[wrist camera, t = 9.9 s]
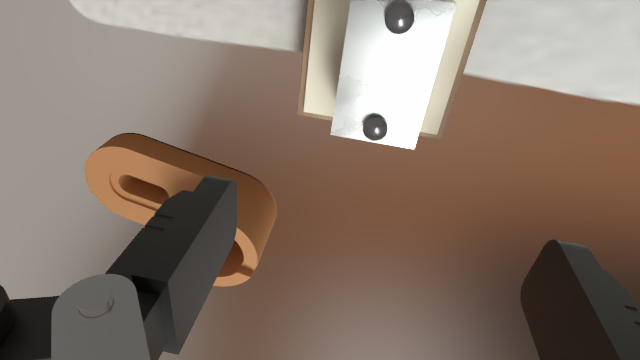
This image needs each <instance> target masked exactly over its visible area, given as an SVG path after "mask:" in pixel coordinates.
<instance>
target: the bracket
mask: <svg viewBox="0 0 640 360" xmlns="http://www.w3.org/2000/svg"><path fill="white" fill-rule="evenodd" d="M206 175H210V176H216V177H221V178H227V179H232V180H235V181H236V184H237V230H236V236H235V240H234V243H233V246H232V248H231V250H230V252H229V254H228V256H227V258H226V260H225V262H224V264H223V266H222V268H221V270H220V272H219V274H218V276H217V278H216V280H215V282H214V284H213V285H215V286H233V285H238V284H240V283H243V282H245V281H246V280H248V279H249V278H250V277H251V275H252V272H253V270H254V269H255V268H256V267H257V265H258V262H259V259H260V257H261V254H262V251H263V249H264V247H265V244H266V241H267V239H268V236H269V234H270V231H271V228H272V226H273V223H274V221H275V218H276V214H277V207H276V202H275V199H274V197H273V195H272V194H271V192H270V190H269V189H268V188H267V187H266V186H265V185H264V184H263V183H262V182H261V181H260V180H258V179H256V178H255V177H253V176H251V175H249V174H247V173H244V172H242V171H239V170H237V169H234V168H231V167H228V166H226V165H223V164H220V163H218V162H215V161H212V160H210V159H207V158H204V157H202V156H199V155H196V154H194V153H191V152H188V151H186V150H183V149H180V148H178V147H175V146H172V145H170V144H167V143H164V142H161V141H158V140H156V139H154V138H151V137H148V136H145V135H142V134H138V133H122V134H119V135H116V136H114V137H113V138H111V139H110V140H109V141H107V142H106V143H105V144H103V145H102V146H101V147H99V148H98V149H97V150H96V151H94V152H93V153H92V154H91V155H90V156H89V157H88V159H87V161H86V164H85V177H86V181H87V183H88V186H89V187H90V189H91V191H92V193H93V194H94V195H95V197H96V198H97V199H98V200H99V201H100V202H101V203H102V204H103V205H104V206H105V207H107V208H108V209H109V210H111V211H113V212H114V213H116V214H118V215H120V216H122V217H125V218H127V219H130V220H133V221H136V222H138V223H141V224H144V225H146V223H147V222H148V221H149V220H150V218H151V217H152V216H153V217H154V214H155V212H156V211H157V210H158V209H159V208H160V206H161V205H162V204H163V203H164V202H165V200H167V199H168V198H170V197H172V196H174V195H175V194H177V193H179V192H180V191H182V190H186V191H191V192H193V191H194V190H195V188H196V187H197V186H198V184H199V183H200V182H201V180H202V179H203V178H204V176H206Z"/></svg>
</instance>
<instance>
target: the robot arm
mask: <svg viewBox="0 0 640 360" xmlns="http://www.w3.org/2000/svg"><path fill="white" fill-rule="evenodd" d="M236 230H237V184H236V181H235V180H232V179H227V178H221V177H216V176H210V175H206V176H204V178H203V179H202V180H201V182H200V183H199V184H198V186H197V187H196V188H195V190H194V191H193V192H191V191H186V190H182V191H180V192H179V193H177V194H175V195H174V196H172V197H170V198H168V199H167V200H165V202H164V203H163V204H162V205H161V206H160V208H159V209H158V210H157V211H156V212H155V214H154V217H153V216H152V217H151V218H150V220H149V221H148V222H147V223H146V225H145V228H142V229H141V231H140V232H139V233H138V234H137V236H136V237H135V238H134V239H133V240H132V242H131V243H130V244H129V245H128V246H127V248H126V249H125V250H124V251H123V253H122V254H121V255H120V256H119V257H118V259H117V260H116V261H115V262H114V263H113V265H112V266H111V267H110V268H109V269H108V271H107V272H106V273H105V274H100V275H95V276H92V277H88V278H85V279H83V280H80V281H79V282H77V283H75V284H73V285H72V286H70V287H69V288H68V289H66V290H65V291H64V292H63V293H62V294H61V295H60V296H54V297H41V298H29V299H13V300H10V299H9V298H8V295H7V293H6V291H5V290H4V288H3V287H2V286H1V285H0V360H158V359H159V357H160V355H161V354H162V352H163V351H165V352H169V353H174V354H179V352H180V350H181V348H182V346H183V344H184V342H185V340H186V338H187V336H188V334H189V332H190V330H191V328H192V326H193V324H194V322H195V320H196V318H197V316H198V314H199V312H200V310H201V308H202V306H203V304H204V302H205V300H206V298H207V296H208V294H209V292H210V290H211V288H212V286H213V284H214V282H215V280H216V278H217V276H218V274H219V272H220V270H221V268H222V266H223V264H224V262H225V260H226V258H227V256H228V254H229V252H230V250H231V248H232V246H233V243H234V240H235V236H236ZM521 305H522V308H523V311H524V314H525V317H526V320H527V323H528V326H529V329H530V332H531V335H532V337H533V340H534V343H535V346H536V349H537V352H538V355H539V358H540V360H640V312H638V307H637V305H636V304H635V302H634V301H633V299H632V298H631V296H630V295H629V293H628V291H627V290H626V288H624V287H623V286H622V285H621V284H620V283H619V282H618V281H617V280H616V279H615V278H614V277H613V276H612V275H610V274H609V273H608V272H607V271H606V270H602V269H601V267H600V265H599V264H598V262H597V260H596V259H595V257H594V255H593V254H592V252H591V251H590V249H589V248H588V247H587V246H585V245H579V244H574V243H569V242H563V241H557V240H550V241H548V242H547V243H546V244H545V246H544V247H543V249H542V250H541V252H540V254H539V256H538V257H537V259H536V261H535V262H534V264H533V266H532V267H531V269H530V271H529V273H528V274H527V276H526V278H525V279H524V282H523V284H522V287H521Z"/></svg>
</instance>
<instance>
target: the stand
mask: <svg viewBox="0 0 640 360" xmlns="http://www.w3.org/2000/svg"><path fill="white" fill-rule="evenodd" d="M454 1H455V3H456V7H455V10H454V14H453V17H452V20H451V24H450V27H449V31H448V34H447V38H446V41H445V45H444V48H443V52H442V55H441V58H440V62H439V65H438V69H437V72H436V76H435V79H434V83H433V86H432V90H431V93H430V97H429V100H428V103H427V107H426V110H425V114H424V117H423V121H422V124H421V128H420V131H419V135H418V136H424V137H430V138H436V139H442V136H443V133H444V130H445V127H446V124H447V121H448V118H449V115H450V111H451V108H452V105H453V102H454V99H455V96H456V93H457V90H458V87H459V84H460V81H461V78H462V75H463V72H464V68H465V65H466V62H467V59H468V56H469V53H470V50H471V47H472V44H473V41H474V38H475V35H476V32H477V28H478V25H479V22H480V19H481V16H482V13H483V10H484V7H485V4H486V1H487V0H454ZM350 2H351V0H308V4H307V15H306V26H305V37H304V48H303V60H302V70H301V81H300V92H299V103H298V115H302V116H309V117H314V118H320V119H326V120H331V121H333V115H334V108H335V102H336V95H337V88H338V82H339V75H340V68H341V62H342V55H343V48H344V42H345V35H346V28H347V22H348V15H349V8H350Z"/></svg>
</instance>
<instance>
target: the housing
mask: <svg viewBox="0 0 640 360" xmlns="http://www.w3.org/2000/svg"><path fill="white" fill-rule="evenodd" d="M455 7H456V3H455V1H454V0H351V2H350V8H349V15H348V22H347V28H346V35H345V42H344V48H343V55H342V62H341V68H340V75H339V82H338V88H337V95H336V102H335V108H334V115H333V123H332V128H331V135H335V136H341V137H347V138H353V139H358V140H364V141H369V142H375V143H380V144H386V145H393V146H397V147H403V148H409V149H414V148H415V145H416V141H417V138H418V135H419V131H420V128H421V124H422V121H423V117H424V114H425V110H426V107H427V103H428V100H429V97H430V93H431V90H432V86H433V83H434V79H435V76H436V72H437V69H438V65H439V62H440V58H441V55H442V52H443V48H444V45H445V41H446V38H447V34H448V31H449V27H450V24H451V20H452V17H453V14H454V10H455Z"/></svg>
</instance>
